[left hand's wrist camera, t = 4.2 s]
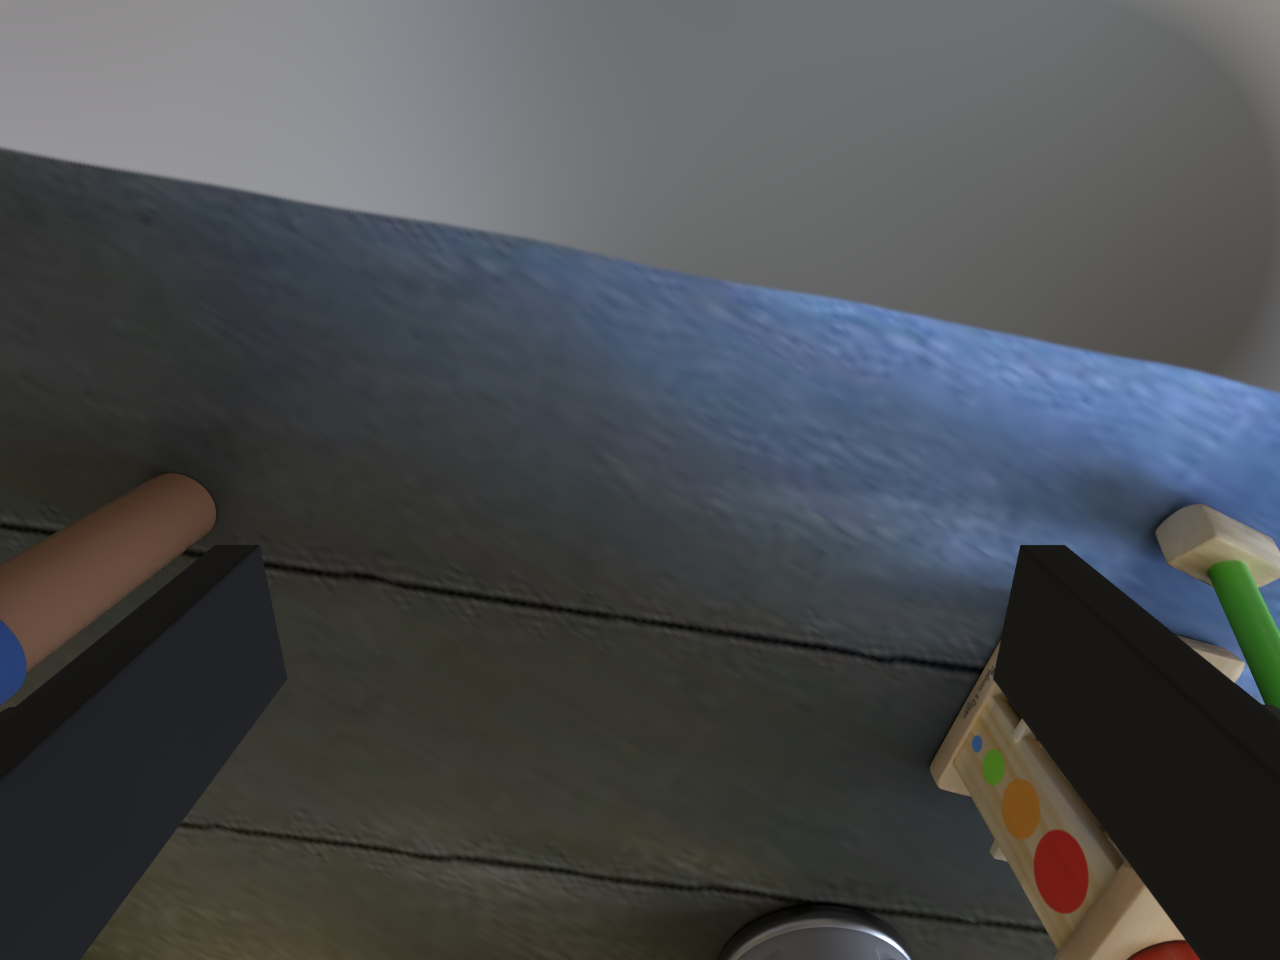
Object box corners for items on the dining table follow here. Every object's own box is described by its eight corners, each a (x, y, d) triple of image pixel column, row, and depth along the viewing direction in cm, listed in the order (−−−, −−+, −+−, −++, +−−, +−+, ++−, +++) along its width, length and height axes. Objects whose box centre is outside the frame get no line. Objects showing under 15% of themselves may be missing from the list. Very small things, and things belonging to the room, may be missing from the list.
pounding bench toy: (1094, 466, 41) (1402, 646, 25) (1311, 532, 43) (1740, 743, 26) (924, 772, 49) (1070, 1066, 33) (1112, 819, 51) (1344, 1122, 34)
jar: (225, 538, 43) (-1, 721, 28) (154, 542, 43) (-109, 727, 28) (205, 470, 42) (-45, 625, 26) (131, 475, 42) (-160, 631, 27)
